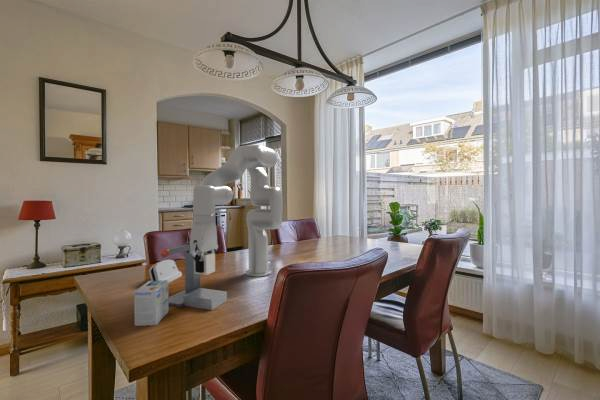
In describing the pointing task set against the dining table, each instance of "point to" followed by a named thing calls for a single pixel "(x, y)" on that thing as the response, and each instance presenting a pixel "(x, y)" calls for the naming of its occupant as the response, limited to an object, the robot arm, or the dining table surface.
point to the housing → (208, 263)
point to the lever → (174, 250)
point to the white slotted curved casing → (164, 271)
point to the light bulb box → (151, 303)
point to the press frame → (196, 290)
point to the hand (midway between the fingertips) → (204, 269)
